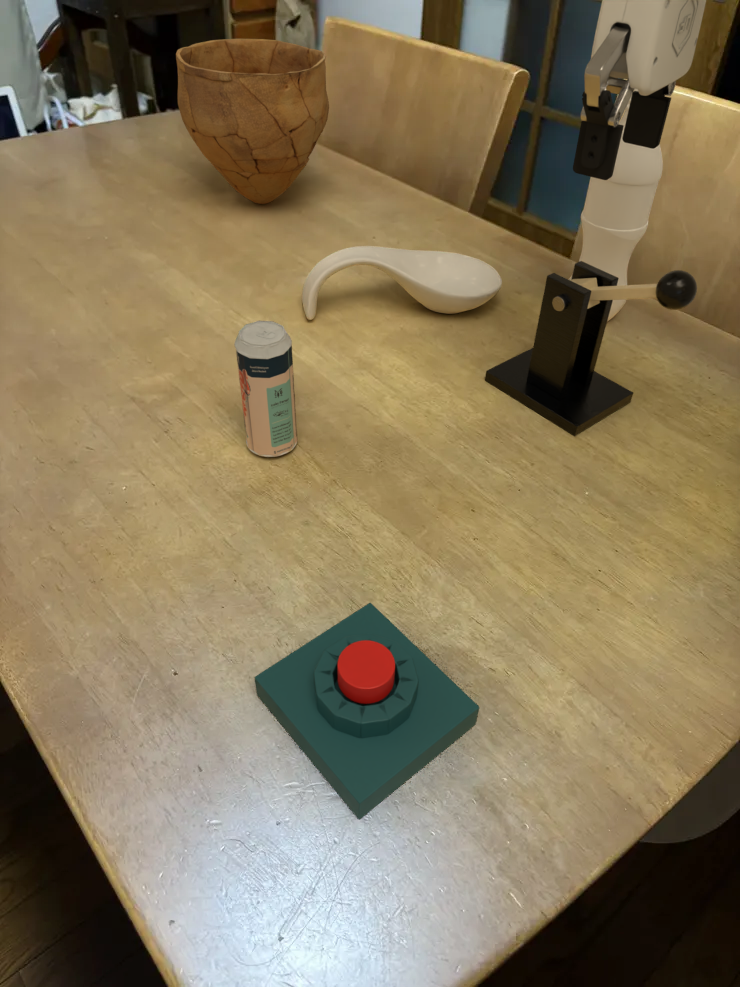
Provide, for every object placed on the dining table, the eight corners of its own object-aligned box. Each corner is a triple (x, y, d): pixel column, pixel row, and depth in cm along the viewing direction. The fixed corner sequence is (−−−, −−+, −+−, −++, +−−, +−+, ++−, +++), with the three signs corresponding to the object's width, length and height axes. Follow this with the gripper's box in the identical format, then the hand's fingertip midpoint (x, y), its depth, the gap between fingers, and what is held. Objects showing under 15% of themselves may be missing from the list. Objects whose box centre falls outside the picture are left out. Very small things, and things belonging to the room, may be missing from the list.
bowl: (207, 174, 120) (190, 29, 106) (334, 179, 119) (333, 34, 106) (178, 229, 104) (153, 68, 91) (323, 234, 104) (320, 74, 91)
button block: (476, 724, 50) (483, 691, 47) (359, 820, 45) (359, 789, 42) (369, 620, 56) (370, 585, 53) (256, 695, 51) (251, 660, 48)
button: (405, 682, 48) (407, 667, 47) (362, 715, 46) (362, 699, 45) (369, 646, 50) (370, 630, 49) (326, 675, 48) (325, 660, 47)
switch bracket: (630, 402, 77) (667, 287, 68) (574, 436, 72) (605, 318, 64) (540, 351, 83) (563, 240, 75) (484, 380, 79) (501, 266, 70)
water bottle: (556, 321, 88) (607, 87, 71) (565, 293, 93) (614, 68, 76) (619, 332, 87) (686, 95, 70) (624, 303, 92) (687, 76, 75)
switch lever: (706, 302, 63) (703, 264, 61) (684, 314, 61) (681, 275, 60) (580, 306, 73) (575, 273, 72) (558, 316, 71) (553, 283, 70)
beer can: (261, 424, 73) (250, 313, 65) (306, 436, 72) (300, 324, 63) (237, 453, 69) (222, 340, 61) (283, 466, 68) (275, 353, 60)
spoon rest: (480, 275, 96) (487, 220, 91) (512, 321, 88) (522, 264, 83) (297, 291, 92) (294, 234, 87) (312, 341, 84) (310, 282, 79)
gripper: (683, -88, 45) (616, 201, 56) (768, -104, 55) (696, 143, 66) (568, -97, 48) (527, 178, 59) (668, -110, 58) (617, 126, 70)
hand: (616, 159), depth 63 cm, fingers open, 9 cm apart
